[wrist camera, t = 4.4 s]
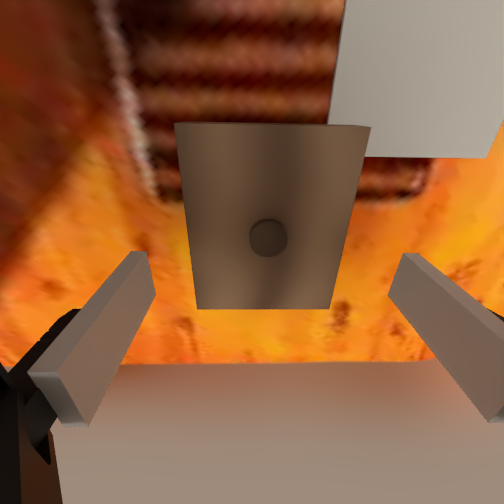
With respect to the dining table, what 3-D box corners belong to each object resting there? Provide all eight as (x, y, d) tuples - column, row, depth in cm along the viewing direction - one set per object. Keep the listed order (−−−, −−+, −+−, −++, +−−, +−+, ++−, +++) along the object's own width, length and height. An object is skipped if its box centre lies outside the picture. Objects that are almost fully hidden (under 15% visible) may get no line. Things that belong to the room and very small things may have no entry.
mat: (321, 155, 21) (323, 155, 20) (370, -169, 13) (373, -176, 13) (481, 157, 21) (485, 158, 21) (624, -155, 13) (635, -163, 13)
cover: (202, 289, 21) (195, 316, 19) (184, 121, 15) (169, 124, 12) (320, 289, 22) (332, 316, 19) (353, 124, 15) (378, 127, 12)
